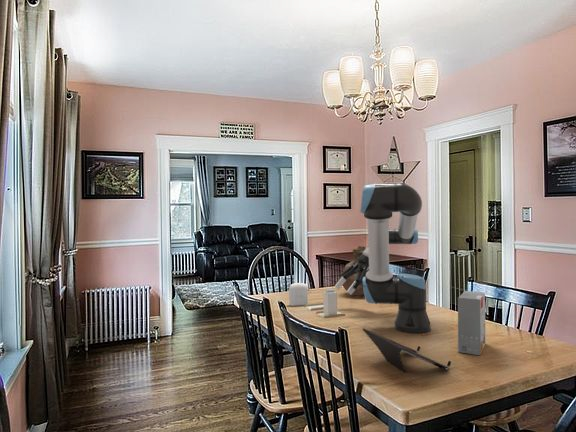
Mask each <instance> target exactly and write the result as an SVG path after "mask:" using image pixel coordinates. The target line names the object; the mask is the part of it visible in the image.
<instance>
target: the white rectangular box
mask: <svg viewBox="0 0 576 432" xmlns="http://www.w3.org/2000/svg"><path fill="white" fill-rule="evenodd" d="M322 293H323V294H322V295H323V304H324V309H323V311H324V314H325V315H333V314H337V312H338V292H336V291H335V289H333V288H332V289H325V290H324V291H323V292H322Z"/></svg>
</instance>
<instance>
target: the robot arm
mask: <svg viewBox="0 0 576 432" xmlns="http://www.w3.org/2000/svg"><path fill="white" fill-rule="evenodd" d="M422 206H423V201H422V198H421V196H420V194H419V192H418V191H417V190H416V189H415V188H414V187H411V185H408V184H405V183H373V184H372V183H371V184H366V185H364V186H363V187H362V192H361V203H360V213H362V214H363V217H364V218H365V220H366V221H367V237H368V239H367V241H368V244H367V247H365V250H364V252H363V254H361V256H360V257H359V258H358V263H357V264H356V263H353V264H352V266H350V267H349V268H348V269H347V270H346V271H344V272H343V271H342V272H343V273H342V272H341V274H340V276H342V278H341V277H340V278H339V280H337V283H336V284H335V285H334V288H336V290H338V291H339V290H340V289H341V288H342V286H343V284H344V283H345V281H346V280H347V278H349V277H350V276H352V275H353V274H356V273H358V275H357V279H356V280H355V281H354V283H353V284H352V285H351V286H350V288H349V289H348V290H347V291H346V292H347V293H348V294H349V295H350V296H352V293H353V292H354V291H355V289H356V288H357V287H358V286H359V284H363V290H364V296H363V297H364V298H365V301H366V303H368V304H375V305H377V304H383V305H385V304H386V305H398V306H397V307H398V308H397V309H398V310H397V314H396V317H395V320H394V328H395V329H396V330H398V331H400V332H403V333H404V332H405V333H410V334H411V333H414V334H421V333H427V332H430V331H431V330H432V326H431V325H432V324H431V322H430V318H429V316H428V312H427V296H426V293H427V292H426V290H427V285H426V280H425V278H424V277H422V276H420V275H416V274H411V273H398V274H397V275H396V276H394V274H393V272H391V270H390V245H417V244H418V241H419V231H418V229H417V228H416V226H417V220H418V215H419V213H420V212H421V211H422ZM393 213H399V218H398V228H389V226H390V225H389V224H390V223H389V222H390V221H389V220H390V219H392V218H393ZM362 280H363V281H362ZM356 281H357V282H356Z"/></svg>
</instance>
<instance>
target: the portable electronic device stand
mask: <svg viewBox="0 0 576 432" xmlns="http://www.w3.org/2000/svg"><path fill="white" fill-rule="evenodd" d="M362 331H363V332H364V333H365V334H366V335H367V337H368V338H369V339H370V340H371V341H372V342H373V343H374V345H375V347H376V348H378V351H379V352H380V353H381V354H382V356H383V358H384V359H385V361H386V362H387V363H389V364H390V365H392V366H394V367H396V368H397V369H399V371H401V372H403V373H406V369H405V366H404V365H403V362H402V358H401V352H402V353H405V354H408V355H410V356H413V357H415V358H417V359H420V360H422V361H424V362H426V363H429V364H431V365H434V366H435V367H437V368H438V369H440V370H441V371H444V372H447V370H450V367H451V364H452V361H451V360H448V361H447V364H446V365H445V364H442V363H441V362H438V361H436V360H433V359H431V358H428V357H426V356H424V355H421V354H420V353H419V352H420V349H421V346H420V345H419V346H417V348H416V350H415V349H413V348H410V347H408V346H405V345H403V344H402V343H399V342H397V341H395V340H393V339H389V338H387V337H384V336H383V335H381V334H378V333H376V332H374V331H372V330H371V331H370V330H369V329H366V328H364V327H363V328H362Z"/></svg>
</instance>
